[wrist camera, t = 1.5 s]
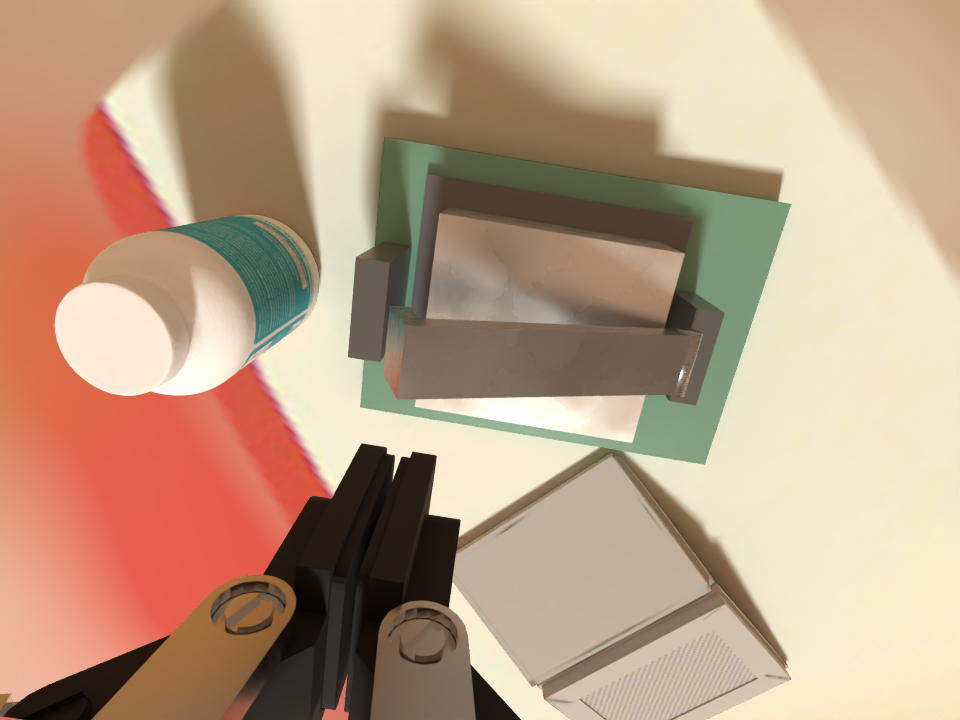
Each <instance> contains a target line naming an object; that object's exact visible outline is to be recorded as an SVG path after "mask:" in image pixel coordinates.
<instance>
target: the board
mask: <svg viewBox="0 0 960 720" xmlns="http://www.w3.org/2000/svg"><path fill="white" fill-rule="evenodd" d="M790 206H791V204H788V203H782V202H776V201H770V200H764V199H758V198H752V197H746V196H740V195H734V194H728V193H721V192H715V191H709V190H703V189H697V188H691V187H685V186H679V185H673V184H667V183H661V182H655V181H649V180H643V179H637V178H630V177H624V176H618V175H612V174H606V173H600V172H594V171H588V170H582V169H576V168H570V167H564V166H558V165H552V164H545V163H539V162H533V161H527V160H521V159H515V158H509V157H503V156H497V155H491V154H485V153H479V152H473V151H467V150H461V149H454V148H448V147H442V146H436V145H430V144H424V143H418V142H412V141H406V140H400V139H394V138H388V137H385V139H384V150H383V161H382V172H381V183H380V194H379V205H378V216H377V227H376V238H375V247H373V248H372V249H370V250H368V251H366V252H364V253H362V254H361V255H359V256H357V257H356V263H355V275H354V288H353V300H352V313H351V325H350V338H349V351H348V357H350V358H356V359H362V360H364V371H363V382H362V393H361V405H360V407H362V408H368V409H374V410H380V411H386V412H392V413H398V414H404V415H410V416H416V417H422V418H428V419H434V420H440V421H446V422H452V423H458V424H464V425H470V426H476V427H482V428H488V429H494V430H500V431H506V432H512V433H518V434H524V435H530V436H536V437H542V438H548V439H554V440H560V441H566V442H572V443H578V444H584V445H590V446H596V447H602V448H608V449H614V450H620V451H626V452H632V453H638V454H644V455H650V456H657V457H663V458H669V459H675V460H681V461H687V462H693V463H699V464H705V462H706V459H707V456H708V453H709V450H710V447H711V444H712V441H713V438H714V435H715V432H716V429H717V426H718V423H719V420H720V417H721V414H722V411H723V408H724V405H725V402H726V399H727V396H728V393H729V390H730V387H731V384H732V381H733V378H734V375H735V372H736V369H737V366H738V363H739V360H740V357H741V354H742V351H743V348H744V345H745V342H746V339H747V336H748V333H749V330H750V327H751V324H752V321H753V318H754V315H755V312H756V309H757V306H758V303H759V300H760V297H761V294H762V291H763V288H764V285H765V282H766V279H767V276H768V273H769V270H770V267H771V264H772V261H773V258H774V255H775V252H776V248H777V245H778V242H779V239H780V236H781V233H782V230H783V227H784V224H785V221H786V218H787V215H788V212H789V209H790ZM390 306H409V307H410V308H411V309H412V310H413V312H414V313H415V314H416V315H417V316H418V317H419V318H430V319H453V320H477V321H500V322H523V323H547V324H570V325H593V326H617V327H640V328H663V329H677V327H688V328H692V329H696V330H699V331H701V332H702V333H703V337H702V340H701V343H700V347H699V350H698V353H697V357H696V360H695V363H694V366H693V370H692V373H691V376H690V380H689V383H688V386H687V389H686V393H685V396H684V397H673V396H670V395H629V396H574V397H518V398H463V399H407V400H397V398H396V396H395V395H394V393H393V391H392V389H391V387H390V386H389V384H388V382H387V380H386V378H385V377H384V375H383V367H384V357H385V348H386V338H387V328H388V319H389V309H390Z"/></svg>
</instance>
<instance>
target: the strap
mask: <svg viewBox="0 0 960 720" xmlns="http://www.w3.org/2000/svg"><path fill="white" fill-rule="evenodd" d="M702 337H703V333H702V332H701V331H699V330H696V329H692V328H688V327H677V329H663V328H640V327H617V326H593V325H570V324H547V323H523V322H500V321H477V320H453V319H430V318H419V317H418V316H417V315H416V314H415V313H414V312H413V310H412V309H411V308H410V307H409V306H390V309H389V319H388V328H387V338H386V348H385V357H384V367H383V375H384V377H385V378H386V380H387V382H388V384H389V386H390V387H391V389H392V391H393V393H394V395H395V396H396V398H397V400H407V399H463V398H518V397H574V396H629V395H670V396H673V397H684V396H685V393H686V389H687V386H688V383H689V380H690V376H691V373H692V370H693V366H694V363H695V360H696V357H697V353H698V350H699V347H700V343H701V340H702Z"/></svg>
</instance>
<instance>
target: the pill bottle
mask: <svg viewBox="0 0 960 720" xmlns="http://www.w3.org/2000/svg"><path fill="white" fill-rule="evenodd" d="M318 292H319V274H318V269H317V265H316V262H315V260H314V257H313V255H312V253H311V251H310V250H309V248H308V246H307V245H306V244H305V242H304V241H303V240H302V239H301V238H300V236H299V235H298V234H296V233H295V232H294V231H293V230H292V229H290V228H289V227H288V226H286V225H285V224H283V223H281V222H279V221H277V220H275V219H272V218H269V217H266V216H261V215H250V214H246V215H238V216H232V217H226V218H221V219H215V220H210V221H204V222H199V223H194V224H188V225H182V226H177V227H171V228H166V229H160V230H155V231H150V232H144V233H140V234H135V235H131V236H128V237H125V238H122V239H120V240H118V241H116V242H114V243H112V244H111V245H109V246H108V247H106V248H105V249H104V250H103V251H101V253H99V254H98V255H97V257H96V258H95V259H94V260H93V261H92V263H91V264H90V266H89V268H88V269H87V271H86V274H85V276H84V279H83V283H82V284H81V285H79V286H77V287H75V288H74V289H72V290H71V291H69V292H68V293H67V294H66V295H65V296H64V298H63V299H62V301H61V303H60V304H59V306H58V309H57V311H56V318H55V333H56V338H57V342H58V345H59V347H60V349H61V352H62V353H63V355H64V357H65V359H66V360H67V362H68V363H69V365H70V366H71V367H72V368H73V369H74V370H75V372H76V373H77V374H79V375H80V376H81V377H82V378H83V379H85V380H86V381H87V382H89V383H91V384H92V385H93V386H95V387H97V388H99V389H101V390H103V391H106V392H109V393H113V394H117V395H126V396H132V395H139V394H143V393H146V392H149V391H152V392H156V393H161V394H167V395H190V394H196V393H200V392H204V391H207V390H210V389H212V388H214V387H216V386H218V385H220V384H221V383H223V382H224V381H226V380H227V379H229V378H230V377H231V376H233V375H234V374H235V373H237V372H238V371H239V370H241V369H242V368H243V367H245V366H246V365H247V364H249V363H250V362H251V361H253V360H254V359H256V358H257V357H258V356H260V355H261V354H262V353H264V352H265V351H266V350H268V349H269V348H270V347H272V346H273V345H274V344H276V343H277V342H279V341H280V340H281V339H283V338H284V337H285V336H287V335H288V334H289V333H291V332H292V331H293V330H295V329H296V328H297V327H299V326H300V325H301V324H302V323H303V322H304V321H305V320H306V319H307V318H308V316H309V315H310V314H311V312H312V310H313V308H314V306H315V304H316V301H317V297H318Z"/></svg>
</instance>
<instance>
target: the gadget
mask: <svg viewBox="0 0 960 720" xmlns="http://www.w3.org/2000/svg"><path fill="white" fill-rule="evenodd" d="M452 581H453V583H454V584H455V585H456V587H457V588H458V589H459V591H460V592H461V593H462V594H463V596H464V597H465V598H466V600H467V601H468V602H469V604H470V605H471V606H472V608H473V609H474V610H475V612H476V613H477V614H478V616H479V617H480V618H481V620H482V621H483V622H484V624H485V625H486V626H487V628H488V629H489V630H490V632H491V633H492V634H493V636H494V637H495V638H496V639H497V641H498V642H499V643H500V645H501V646H502V647H503V649H504V650H505V651H506V653H507V654H508V655H509V657H510V658H511V659H512V661H513V662H514V663H515V665H516V666H517V667H518V669H519V670H520V671H521V673H522V674H523V675H524V677H525V678H526V679H527V680H528V682H529V683H530V684H531V686H532V687H533V686H535V685H537V686H538V687H539V688H540V689H541V690H543V696H544V700H546V701H547V702H548V703H550V704H551V705H552V706H554V707H555V708H556V709H558V710H559V711H560V712H562V713H563V714H564V715H566V716H567V717H568V718H569V719H571V720H706V719H709V718H711V717H713V716H715V715H717V714H719V713H721V712H723V711H725V710H728V709H730V708H732V707H734V706H736V705H738V704H740V703H742V702H744V701H746V700H749V699H751V698H753V697H755V696H757V695H759V694H761V693H763V692H765V691H768V690H770V689H772V688H774V687H776V686H778V685H780V684H782V683H784V682H787V681H789V680H791V678H790V676H789V674H788V673H787V671H786V668H788V666H787V665H786V664H785V662H784V661H783V660H782V658H781V657H780V656H779V655H778V653H777V652H776V651H775V650H774V648H773V647H772V646H771V645H770V644H769V643H768V641H767V640H766V639H765V638H764V637H763V636H762V635H761V633H760V632H759V631H758V630H757V629H756V628H755V626H754V625H753V624H752V623H751V622H750V621H749V620H748V618H747V617H746V616H745V615H744V614H743V613H742V612H741V610H740V609H739V608H738V607H737V606H736V605H735V603H734V602H733V601H732V600H731V599H730V598H729V597H728V595H727V594H726V593H725V592H724V591H723V590H722V589H721V587H720V586H719V585H718V584H715V585H713V584H714V583H715V581H714V579H713V578H712V576H711V575H710V573H709V572H708V571H707V569H706V568H705V567H704V565H703V564H702V563H701V561H700V560H699V559H698V557H697V556H696V555H695V553H694V552H693V551H692V549H691V548H690V546H689V545H688V544H687V542H686V541H685V540H684V538H683V537H682V536H681V534H680V533H679V532H678V530H677V529H676V528H675V526H674V525H673V524H672V522H671V521H670V520H669V518H668V517H667V515H666V514H665V513H664V511H663V510H662V509H661V507H660V506H659V505H658V503H657V502H656V501H655V499H654V498H653V497H652V495H651V494H650V493H649V491H648V490H647V488H646V487H645V486H644V484H643V483H642V482H641V480H640V479H639V478H638V477H637V475H636V474H635V473H634V472H633V470H632V469H631V468H630V466H629V465H628V464H627V463H626V461H625V460H624V459H623V458H622V456H621V457H620V458H618V459H617V458H616V457H615V456H614V455H613V453H612V452H611V453H609V454H608V455H606V456H605V457H603V458H601V459H600V460H598V461H597V462H595V463H594V464H592V465H590V466H589V467H587V468H586V469H584V470H583V471H581V472H579V473H578V474H576V475H575V476H573V477H571V478H570V479H568V480H567V481H565V482H564V483H562V484H560V485H559V486H557V487H556V488H554V489H553V490H551V491H549V492H548V493H546V494H545V495H543V496H542V497H540V498H538V499H537V500H535V501H534V502H532V503H531V504H529V505H527V506H526V507H524V508H523V509H521V510H520V511H518V512H516V513H515V514H513V515H512V516H510V517H509V518H507V519H505V520H504V521H502V522H501V523H499V524H498V525H496V526H494V527H493V528H491V529H490V530H488V531H487V532H485V533H483V534H482V535H480V536H479V537H477V538H475V539H474V540H472V541H471V542H469V543H468V544H466V545H464V546H463V547H461V548H460V549H458V550H457V551H456V558H455V565H454V572H453V580H452ZM711 585H713V586H711ZM710 586H711V587H710Z"/></svg>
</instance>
